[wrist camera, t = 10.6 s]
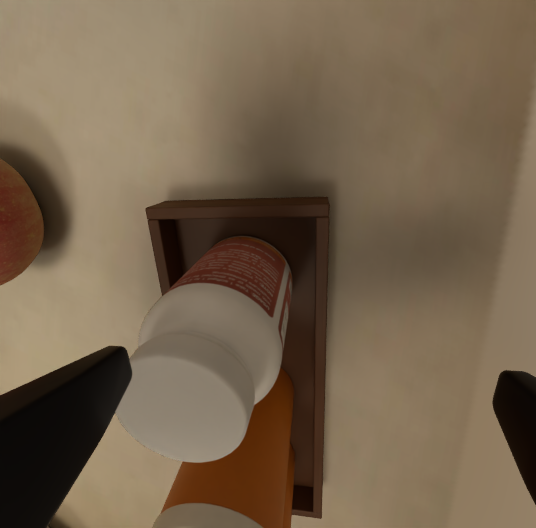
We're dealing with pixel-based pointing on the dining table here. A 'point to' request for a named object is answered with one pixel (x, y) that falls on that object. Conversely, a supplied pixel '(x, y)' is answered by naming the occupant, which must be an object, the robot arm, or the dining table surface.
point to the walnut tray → (301, 305)
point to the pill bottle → (209, 352)
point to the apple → (17, 224)
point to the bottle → (239, 474)
